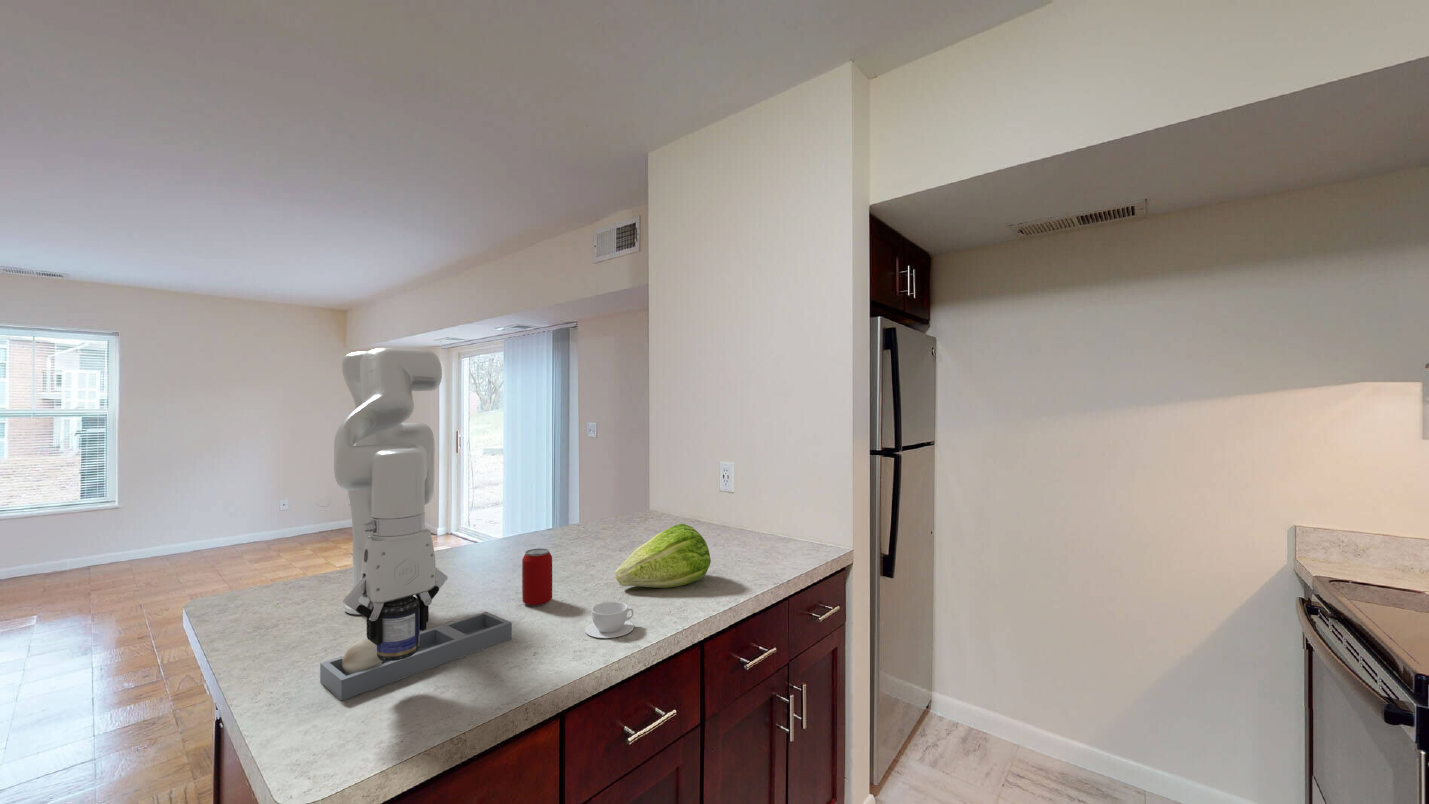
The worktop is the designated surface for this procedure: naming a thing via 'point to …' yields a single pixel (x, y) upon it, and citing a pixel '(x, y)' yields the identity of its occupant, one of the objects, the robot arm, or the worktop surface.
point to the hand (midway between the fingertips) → (398, 634)
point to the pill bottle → (399, 629)
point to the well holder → (420, 654)
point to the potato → (360, 657)
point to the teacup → (610, 620)
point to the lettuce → (667, 560)
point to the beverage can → (537, 577)
